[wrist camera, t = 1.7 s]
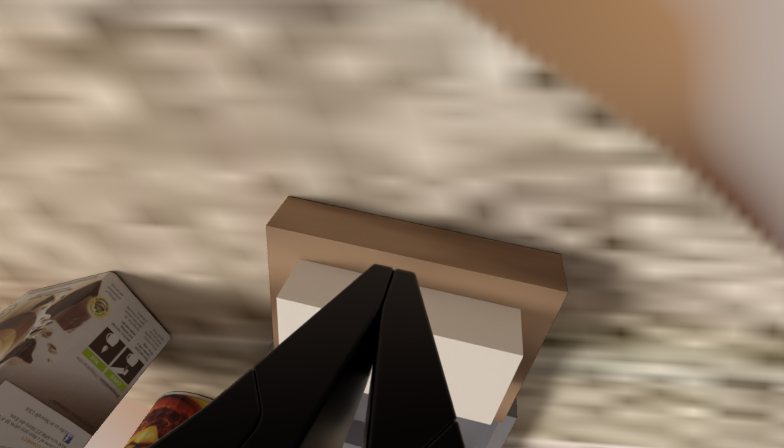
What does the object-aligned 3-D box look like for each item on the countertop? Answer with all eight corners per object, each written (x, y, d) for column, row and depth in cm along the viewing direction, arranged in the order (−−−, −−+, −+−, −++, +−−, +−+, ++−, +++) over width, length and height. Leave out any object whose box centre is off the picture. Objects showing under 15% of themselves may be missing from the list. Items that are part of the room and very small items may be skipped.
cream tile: (491, 378, 22) (490, 425, 20) (300, 331, 23) (280, 371, 21) (520, 309, 19) (523, 355, 17) (299, 258, 20) (276, 297, 18)
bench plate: (502, 383, 26) (502, 422, 24) (291, 332, 27) (275, 365, 25) (561, 254, 20) (567, 292, 18) (288, 196, 21) (265, 225, 19)
